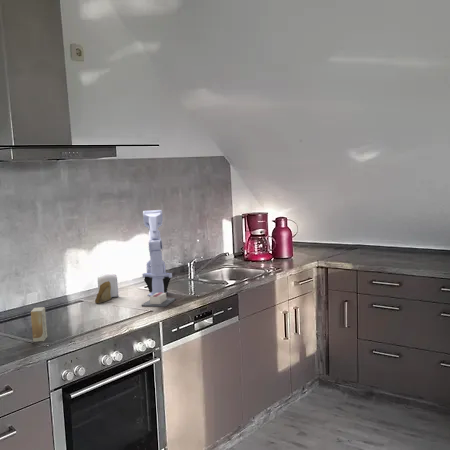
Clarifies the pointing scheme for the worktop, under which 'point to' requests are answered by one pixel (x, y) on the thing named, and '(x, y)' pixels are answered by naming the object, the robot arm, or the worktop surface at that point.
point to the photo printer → (112, 279)
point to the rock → (104, 292)
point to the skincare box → (39, 324)
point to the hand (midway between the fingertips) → (158, 292)
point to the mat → (163, 304)
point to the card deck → (158, 298)
